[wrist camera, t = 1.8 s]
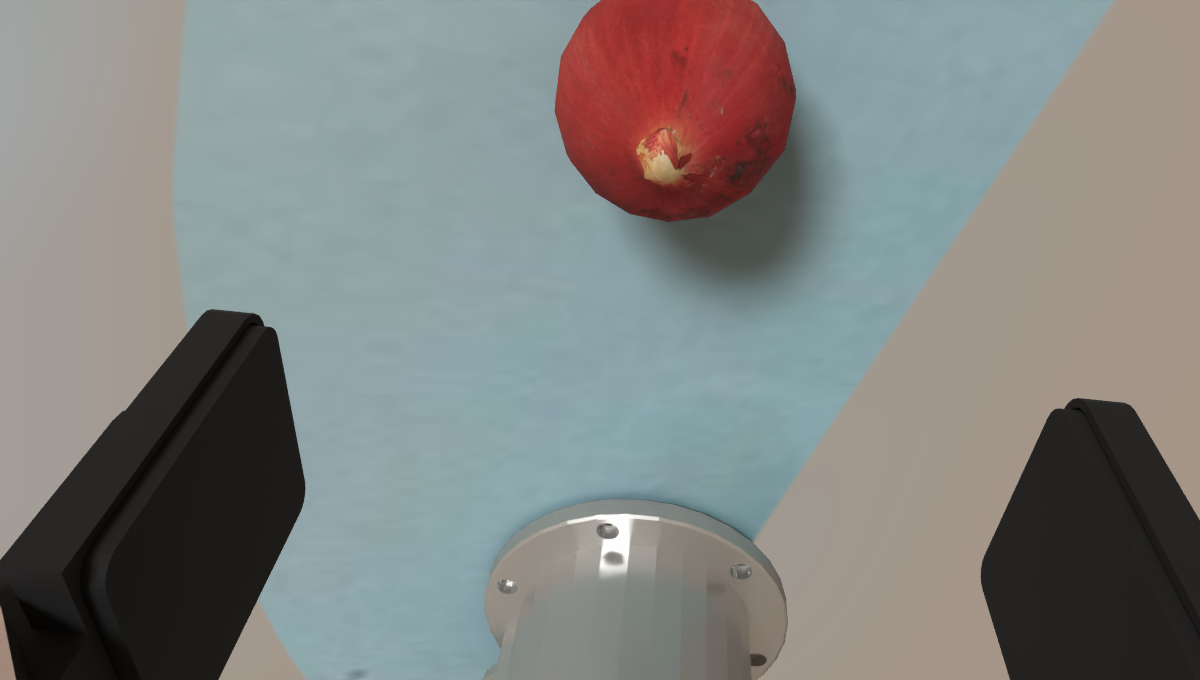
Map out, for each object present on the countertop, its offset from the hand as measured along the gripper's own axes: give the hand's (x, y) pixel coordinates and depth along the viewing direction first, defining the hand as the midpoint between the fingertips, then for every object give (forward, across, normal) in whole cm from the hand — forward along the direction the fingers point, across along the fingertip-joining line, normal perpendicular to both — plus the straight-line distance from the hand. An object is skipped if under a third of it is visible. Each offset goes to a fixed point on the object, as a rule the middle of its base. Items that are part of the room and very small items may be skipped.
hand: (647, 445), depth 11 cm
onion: (+17, 0, +1) cm, 17 cm away
